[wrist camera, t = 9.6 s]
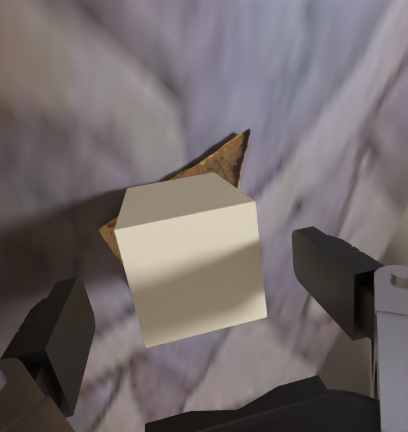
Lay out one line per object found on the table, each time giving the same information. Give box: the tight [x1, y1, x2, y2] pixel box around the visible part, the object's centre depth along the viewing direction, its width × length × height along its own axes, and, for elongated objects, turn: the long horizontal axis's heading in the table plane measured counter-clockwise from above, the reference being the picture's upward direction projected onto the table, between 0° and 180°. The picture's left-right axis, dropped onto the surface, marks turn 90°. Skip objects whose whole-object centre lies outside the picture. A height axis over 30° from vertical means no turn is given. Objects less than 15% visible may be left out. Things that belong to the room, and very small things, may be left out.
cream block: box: [114, 172, 267, 348], centre depth 14 cm, size 5×5×7 cm
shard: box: [99, 129, 250, 264], centre depth 19 cm, size 11×8×2 cm
